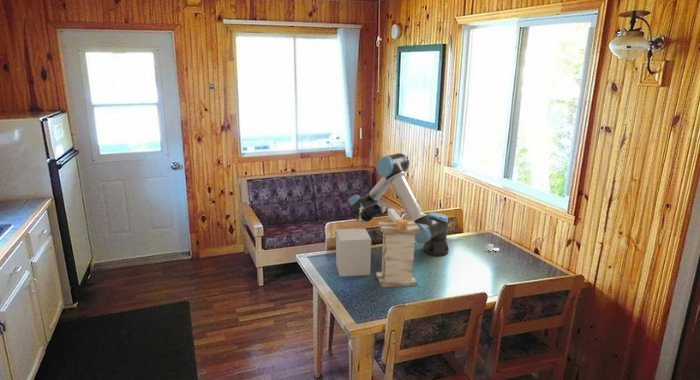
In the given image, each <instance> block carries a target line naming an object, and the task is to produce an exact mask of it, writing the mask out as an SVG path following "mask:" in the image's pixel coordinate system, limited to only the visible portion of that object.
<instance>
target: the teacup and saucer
mask: <svg viewBox="0 0 700 380" xmlns="http://www.w3.org/2000/svg"><path fill="white" fill-rule="evenodd" d="M485 248H488V249H487V250H489V251H488V252H495V251H497V252H499V251H500V248H499V247H494V244H492V243H489V244H486V246H485ZM493 250H494V251H493Z"/></svg>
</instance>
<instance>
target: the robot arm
mask: <svg viewBox="0 0 700 380" xmlns="http://www.w3.org/2000/svg"><path fill="white" fill-rule="evenodd" d="M409 166H410V160H409V158H408V156H406V155H405V154H403V153H401V152H400V153H399V152H397V153H393V154H389V155H385V156H381V157H380V158H379V159H378V160H377V165H376V171H377V173H378V175H379V176H380V177H381V178H380V179H379V181H378V182H377V183H376V184H375V185H374V186H373V187H372V189H371V190H370V191H369V192H368V193H367V195H365V196H360V194H355V195H353V196H350V197H349V199H348V203H349V204H350V207H351V209H352V212H353V215H355V218H356V221H357V220H359V219H362V220H360V221H361V222H362V223H365V224H366V225H368V224H369V222H370V221H372V220H373V218H374V217H376V216H377V217H380V216H382V215H386V214H388V208H386V206H385V205H384V206H383V207H381V208H380V209H370V207H373V206H375V205H377V204H379V202H380V199H381V198H382V196H383V195H384V194H385V193H386V192H387V191H388V190H389V188H390V187H391V186H392V189H393V190H394V192H395V194H396V195H397V198H398V199H399V201H400V203H401V205H402V207H403V210H404V211H405V214H406V215H407V217H408V220H413V221H414V222H415V223H416V225H417V226H418V227H419V228H420V229H421V232H420V233H415V243H419V244H423V245H422V252H423V253H424V254H425V255H428V256H433V257H443V256H447V255H448V254H449V250H450V248H449V245H448V240H447V238H448V237H447V236H448V235H447V234H448V226H449V217H448V216H447V215H446V214H445V213H444V214H443V213H440V212H439V213H438V212H429V213H428V214H426V213H424V211H423V210H422V208H421V206H420V203H419V202H418V201H417V198H416V196H415V194H414V192H413V191H412V189H411V187H410V185H409V183H408V181H407V179H406V177H405V174H406V172H407V170H408V169H409ZM367 223H368V224H367Z"/></svg>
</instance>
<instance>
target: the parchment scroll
mask: <svg viewBox="0 0 700 380" xmlns="http://www.w3.org/2000/svg"><path fill="white" fill-rule="evenodd" d="M405 220H406V221H407V222H408V225H407V230H398V229H397V228H396V225H395V223H394V222H393V221H392V219H390V220H377V225H378V228H380V229H379V230H381V232H382V257H381V271H376V272H375V276H376V278H377V279H378V283H379V285H380V287H381V288H397V287H399V288H400V287H412V286H418V282H417V280H416V279H415V277H414V274H413V273H414V259H415V255H414V254H415V243H416V241H415V233H420V232H421V229H420V228H419V227H418V226H417V225H416V223H415V222H414V221H413V220H410V219H405Z"/></svg>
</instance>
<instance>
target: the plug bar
mask: <svg viewBox="0 0 700 380" xmlns="http://www.w3.org/2000/svg"><path fill="white" fill-rule="evenodd" d="M387 211H388V213H387V216H388V217H389V219H390V220H392V221H393V222H394V223H395V225H396V228H397V229H398V230H407V225H408V222H407V221H406V220H407V219H403V218H402V217H401V216H400V215H399V214H398V213H397V211H396V210H395V209H394V208H387Z"/></svg>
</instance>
